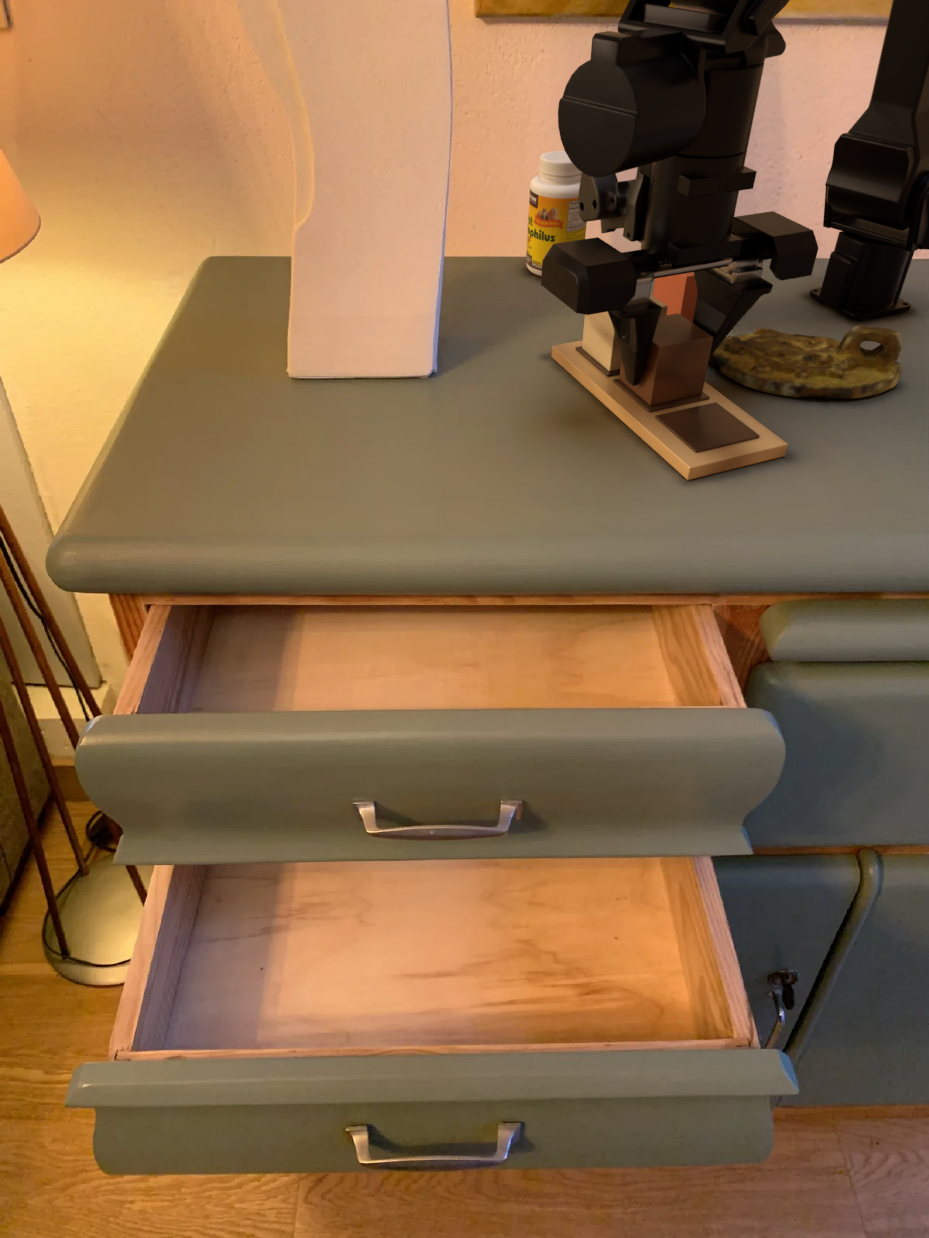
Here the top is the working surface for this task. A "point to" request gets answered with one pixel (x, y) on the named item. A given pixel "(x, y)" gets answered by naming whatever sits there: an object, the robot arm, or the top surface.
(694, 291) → the orange-red cube
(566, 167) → the supplement bottle
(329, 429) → the top surface
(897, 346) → the olive brown carved pendant
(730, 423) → the word board
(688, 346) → the dark brown cube
